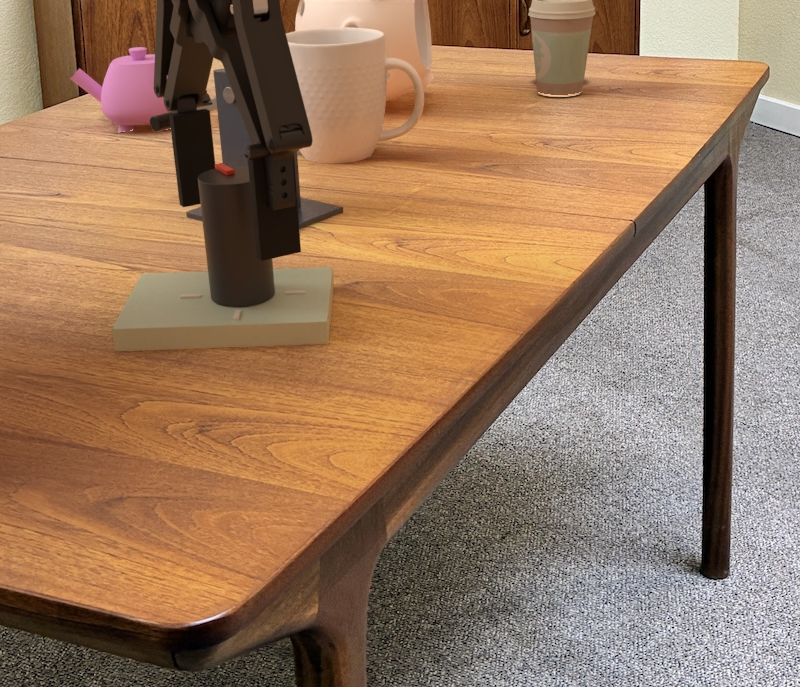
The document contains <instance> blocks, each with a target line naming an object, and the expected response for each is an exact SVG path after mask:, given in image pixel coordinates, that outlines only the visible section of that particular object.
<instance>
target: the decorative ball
mask: <svg viewBox="0 0 800 687" xmlns="http://www.w3.org/2000/svg"><path fill="white" fill-rule="evenodd" d="M294 23H295V24H294V26H295V27H294V31H300V30H308V29H319V28H340V27H349V28H366V29H374V30H378V31H381V32H383V33H384V35H385V52H386V57H387V58H397V59H400V60H403V61H405V62H407V63H409V64H410V65H411V66H412V67H413V68H414V69H415V70H416V71H417V73H418V75H419V77H420V79H421V81H422V84H423V89H424V90H425V89H426V88H427V86H428V85H430V83H431V82H432V81H433V79H434V78H435V75H434V74H433V73H432V63H433V43H432V42H433V41H432V30H431V18H430V11H429V2H428V0H299V2H298V5H297V10H296V14H295V22H294ZM386 75H387V79H386V80H387V85H386V88H387V90H386V103H387V102H390V101H393V100H395V99H398V98H401V97H402V96H404V95H405V94H408V93H409V92H410V91H412V90H413V89H415V88H414V85H413V82H412V80H411V79H410V77H409V76H408V74H406V73H405V72H404V71H402V70H400V69H391V70H387V71H386Z"/></svg>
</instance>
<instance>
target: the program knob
mask: <svg viewBox="0 0 800 687" xmlns="http://www.w3.org/2000/svg"><path fill="white" fill-rule="evenodd" d="M198 186H199V195H200V204H199V205H200V207H201V213H202V221H201V222H202V229H203V231H202V232H203V239H204V248H205V256H206V257H205V258H206V266H207V271H208V276H209V285H210V294H211V299H212V301H213V302H215V303H217V304H219V305H223V306H230V307H244V306H252V305H256V304H260V303H263V302H265V301H267V300H269V299H271V298H272V297H273V296H274V294H275V285H274V273H273V269H274V263H273V258H272V259H268V260H264V261H261V260H259V259H258V258H257V257H256V246H255V235H254V224H253V213H252V202H251V191H250V180H249V168H248V166H229V167H228V166H227V165H225V164H223V162H218V163H215V169H211V170H208V171H205V172H203V173H201V174H200V175H199V176H198Z"/></svg>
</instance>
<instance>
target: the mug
mask: <svg viewBox="0 0 800 687" xmlns="http://www.w3.org/2000/svg"><path fill="white" fill-rule="evenodd" d="M285 33H286V32H285ZM286 37H287V41H288V44H289V48H290V52H291V56H292V60H293V64H294V68H295V72H296V75H297V79H298V83H299V87H300V91H301V95H302V99H303V103H304V106H305V110H306V114H307V118H308V122H309V126H310V130H311V134H312V140H313V141H312V145H311V147H306V148H302V149H299V150H298V151H299V152H300V154H301V155H302V157H303V158H304V159H305V160H307V161H309V162H313V163H318V164H332V165H333V164H348V163H354V162H359V161H363V160H365V159H368V158H371V157H372V156H373V153H374V152H375V149H376V148H377V145H378V142H384V141H389V140H393V139H396V138H399V137H402V136H404V135H406V134H407V133H409V132H410V131H411V130H413V129H414V127H416V125H418V122H419V120H420V118H421V117H422V114H423V111H424V105H425V89H423V84H422V81H421V79H420V77H419V75H418V73H417V71H416V70H415V69H414V68H413V67H412V66H411V65H410V64H409V63H407V62H405V61H403V60H400V59H397V58H387V57H386V52H385V35H384V33H383V32H381V31H378V30H374V29H366V28H349V27H340V28H319V29H308V30H300V31H295V30H294V31H290V32H287V33H286ZM391 69H400V70H402V71H404V72H405V73H406V74H408V76H409V77H410V79H411V80H412V82H413V85H414V88H413V89H414V92H415V102H414V103H415V104H414V108H413V111H412V113H411V115H410V117H409V118H408V119H407V121H405V122H404V123H403V124H402V125H401V126H399V127H396V128H393V129H387V130H386V129H384V130H383V124H384V119H385V113H386V105H387V102H386V90H387V88H386V85H387V80H386V79H387V75H386V71H387V70H391Z"/></svg>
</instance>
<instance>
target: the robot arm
mask: <svg viewBox="0 0 800 687" xmlns="http://www.w3.org/2000/svg"><path fill="white" fill-rule="evenodd" d="M282 17H283V16H282V9H281V1H280V0H156V17H155V19H156V20H155V22H156V23H155V44H154V54H155V66H154V93H155V94H156V96H157V97H158V98H161V97H164V99H163V100H164V105H165V107H166V110H167V111H168V112H169V111H172V114H169V118H170V127H171V129H170V133H171V142H172V151H173V152H172V153H173V158H174V159H173V161H174V167H175V176H176V185H177V193H178V203H179V206H181V207H182V208H188V207H193V206H197V205H201V204H200V195H199V186H198V176H199V175H200V174H201V173H203V172H205V171H208V170H211V169H215V164H216V159H215V158H216V157H215V148H214V139H213V138H214V137H213V128H212V120H211V118H212V117H211V112H210V111H209V110H207V109H201V110H197V107H202V106H209V105H212V102H209V101H211V99H212V98H211V96H210V94H209V93H208V91H207V88H208V84H209V79H210V74H211V71H212V67H213V62H214V59H215V60H217V61H220V62H221V64H222V66H223V69H225V72H226V75H227V77H228V80H229V83H230V86H231V88H232V91H233V94H234V97H235V99H236V102H237V105H238V107H239V110H240V113H241V116H242V118H243V121H244V124H245V127H246V129H247V132H248V135H249V138H250V140H251V143H252V145H249V146H248V147H249V148H247V149H246V151H245V154H243V155H244V157H245V159H246V160H248V168H249V180H250V191H251V202H252V213H253V224H254V235H255V246H256V257H257V258H258V259H259V260H261V261H264V260H268V259H272V260H273V259H276V258H281V257H285V256H291V255H295V254H298V253H301V252H302V247H301V234H300V233H301V232H300V230H299V218H298V204H297V191H296V177H295V163H294V152H297V153H298V152H299V151H300V150H299V149H302V148H306V147H311V145H312V141H313V140H312V134H311V130H310V126H309V122H308V118H307V114H306V110H305V106H304V103H303V99H302V95H301V91H300V87H299V83H298V79H297V75H296V72H295V68H294V64H293V60H292V56H291V52H290V48H289V44H288V41H287V37H286V30H285V26H284V22H283V18H282ZM167 75H168V78H167Z"/></svg>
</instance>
